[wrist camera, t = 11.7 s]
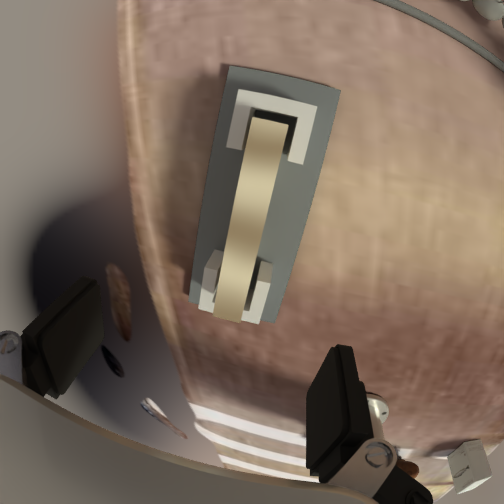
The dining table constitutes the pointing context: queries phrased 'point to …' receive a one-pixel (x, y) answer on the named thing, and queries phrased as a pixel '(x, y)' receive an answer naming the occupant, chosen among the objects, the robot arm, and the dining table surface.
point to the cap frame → (285, 188)
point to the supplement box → (469, 466)
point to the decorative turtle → (408, 467)
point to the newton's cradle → (486, 6)
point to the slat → (249, 215)
